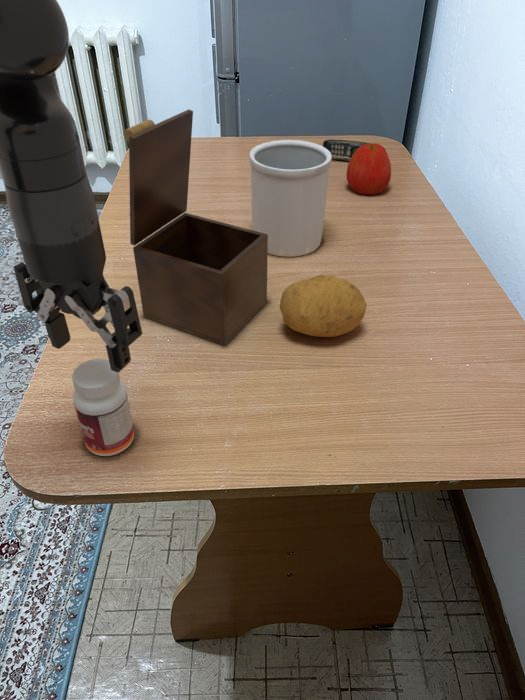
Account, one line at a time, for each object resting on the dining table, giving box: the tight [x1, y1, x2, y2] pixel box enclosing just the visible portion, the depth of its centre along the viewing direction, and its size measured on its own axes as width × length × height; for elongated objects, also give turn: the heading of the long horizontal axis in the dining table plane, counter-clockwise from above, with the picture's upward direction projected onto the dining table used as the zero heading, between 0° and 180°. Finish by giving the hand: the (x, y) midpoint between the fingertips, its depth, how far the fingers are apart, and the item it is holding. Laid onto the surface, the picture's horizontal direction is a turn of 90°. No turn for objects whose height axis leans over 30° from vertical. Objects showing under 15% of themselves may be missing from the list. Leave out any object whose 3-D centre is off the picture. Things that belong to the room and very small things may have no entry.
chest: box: [132, 212, 269, 347], centre depth 90 cm, size 16×14×13 cm
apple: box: [345, 143, 392, 195], centre depth 129 cm, size 10×10×10 cm
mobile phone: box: [322, 139, 372, 163], centre depth 145 cm, size 5×3×15 cm
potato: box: [279, 274, 367, 338], centre depth 87 cm, size 10×13×9 cm
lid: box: [123, 109, 194, 247], centre depth 83 cm, size 16×14×5 cm
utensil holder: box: [248, 139, 333, 258], centre depth 107 cm, size 15×15×18 cm
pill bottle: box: [71, 358, 135, 457], centre depth 68 cm, size 6×6×11 cm
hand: (90, 355), depth 63 cm, fingers open, 8 cm apart
